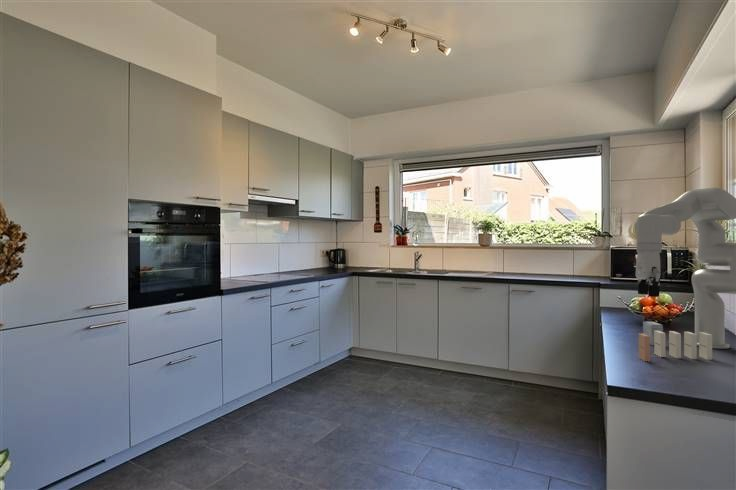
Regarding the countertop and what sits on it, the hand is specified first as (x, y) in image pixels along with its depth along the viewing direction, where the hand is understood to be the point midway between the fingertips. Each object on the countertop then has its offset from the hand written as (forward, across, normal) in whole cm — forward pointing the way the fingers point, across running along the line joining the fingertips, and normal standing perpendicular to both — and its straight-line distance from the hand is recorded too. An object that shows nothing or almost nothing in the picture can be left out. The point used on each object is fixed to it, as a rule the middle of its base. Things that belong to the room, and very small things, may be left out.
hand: (648, 295), depth 149 cm
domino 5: (+22, -8, +22) cm, 32 cm away
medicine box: (+22, -29, +12) cm, 38 cm away
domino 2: (+23, -7, +6) cm, 25 cm away
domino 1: (+23, +1, -1) cm, 23 cm away
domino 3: (+23, -7, +12) cm, 27 cm away
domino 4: (+23, -8, +16) cm, 29 cm away
